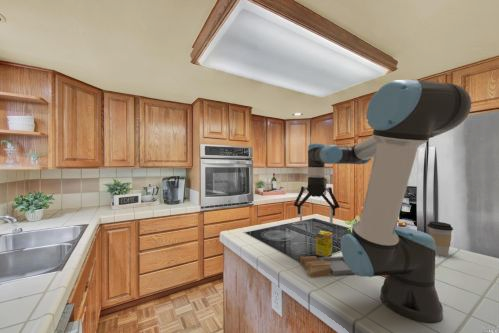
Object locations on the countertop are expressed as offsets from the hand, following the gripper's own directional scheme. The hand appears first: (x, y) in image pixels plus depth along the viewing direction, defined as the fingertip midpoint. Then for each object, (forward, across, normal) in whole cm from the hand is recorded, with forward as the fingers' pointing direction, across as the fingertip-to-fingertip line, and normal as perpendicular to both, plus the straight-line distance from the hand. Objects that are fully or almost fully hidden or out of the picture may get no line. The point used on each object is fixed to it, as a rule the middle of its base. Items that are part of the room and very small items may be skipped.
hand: (315, 222), depth 98 cm
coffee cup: (+17, -61, -16) cm, 65 cm away
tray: (+17, -8, +9) cm, 20 cm away
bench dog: (+17, +1, +16) cm, 23 cm away
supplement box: (+17, -4, -3) cm, 17 cm away
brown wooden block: (+17, +3, +10) cm, 20 cm away
